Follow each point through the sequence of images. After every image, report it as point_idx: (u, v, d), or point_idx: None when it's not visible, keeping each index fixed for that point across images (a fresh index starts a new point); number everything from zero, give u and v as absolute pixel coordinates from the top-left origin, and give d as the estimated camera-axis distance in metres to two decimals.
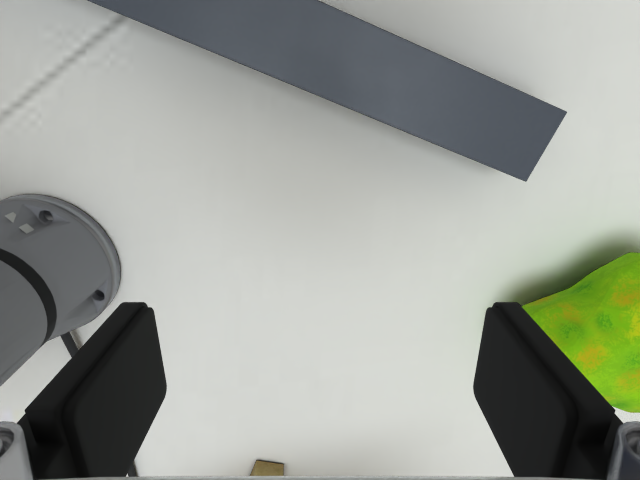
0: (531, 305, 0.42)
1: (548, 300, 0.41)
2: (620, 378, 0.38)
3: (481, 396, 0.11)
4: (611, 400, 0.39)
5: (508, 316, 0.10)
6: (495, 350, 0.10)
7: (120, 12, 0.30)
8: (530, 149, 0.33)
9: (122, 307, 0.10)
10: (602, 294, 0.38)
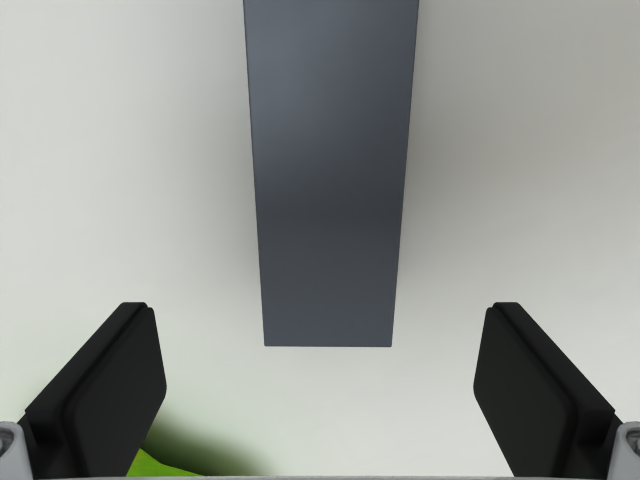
0: None
1: None
2: None
3: (481, 396, 0.11)
4: None
5: (508, 316, 0.10)
6: (495, 350, 0.10)
7: None
8: (315, 326, 0.19)
9: (122, 307, 0.10)
10: None
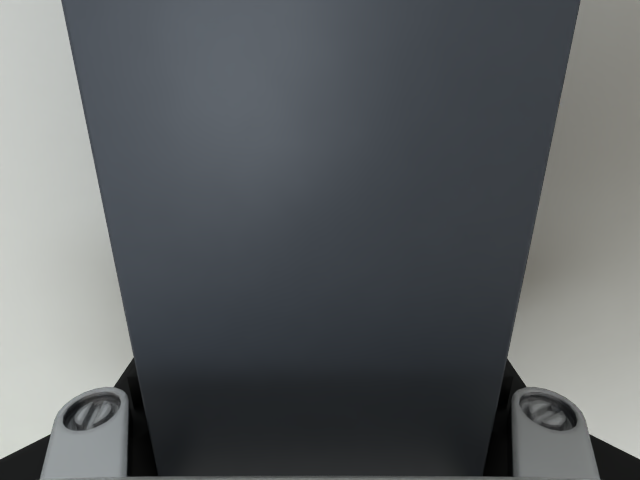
0: None
1: None
2: None
3: None
4: None
5: None
6: None
7: None
8: None
9: None
10: None
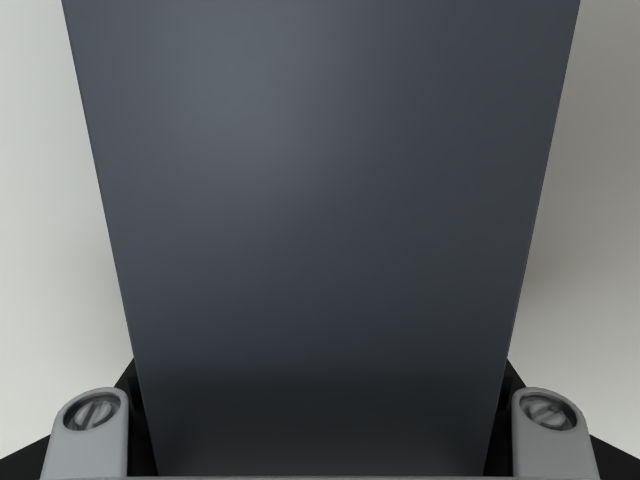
0: None
1: None
2: None
3: None
4: None
5: None
6: None
7: None
8: None
9: None
10: None
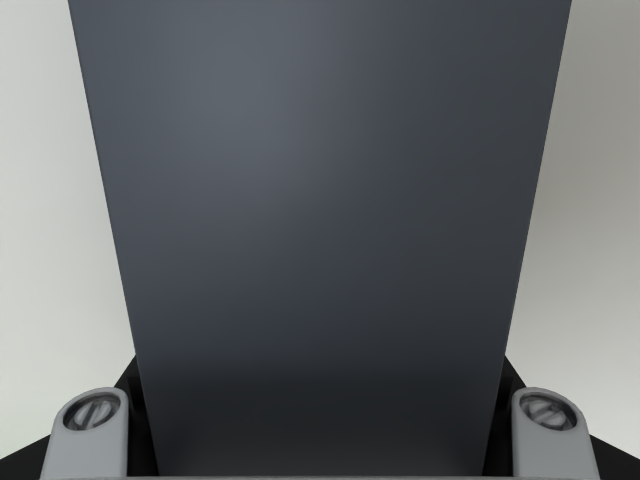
0: None
1: None
2: None
3: None
4: None
5: None
6: None
7: None
8: None
9: None
10: None
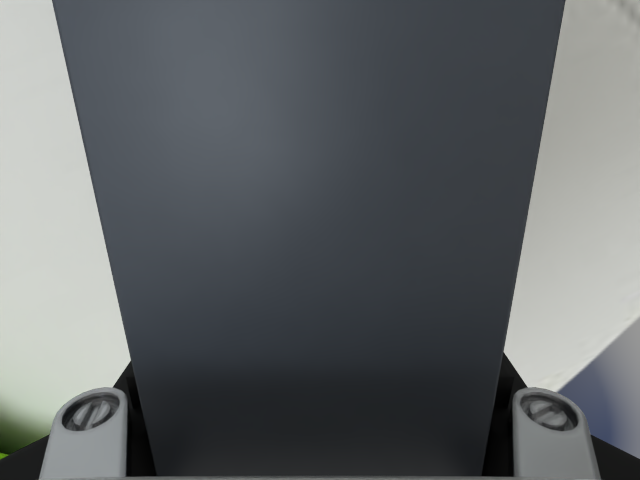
0: None
1: None
2: None
3: None
4: None
5: None
6: None
7: None
8: None
9: None
10: None
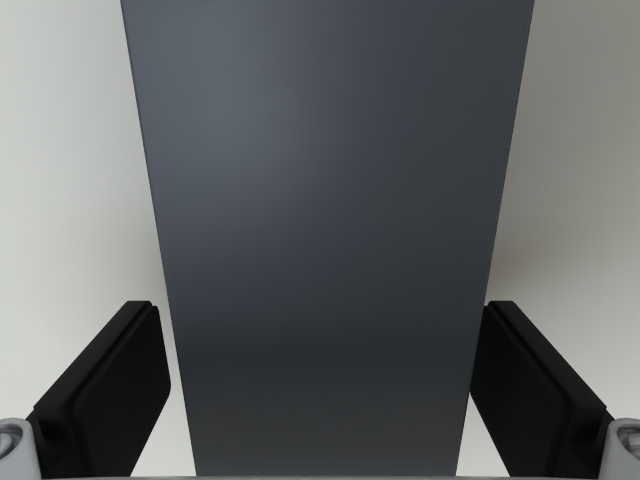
0: None
1: None
2: None
3: (476, 394, 0.11)
4: None
5: (503, 314, 0.10)
6: (490, 348, 0.10)
7: None
8: None
9: (127, 305, 0.10)
10: None
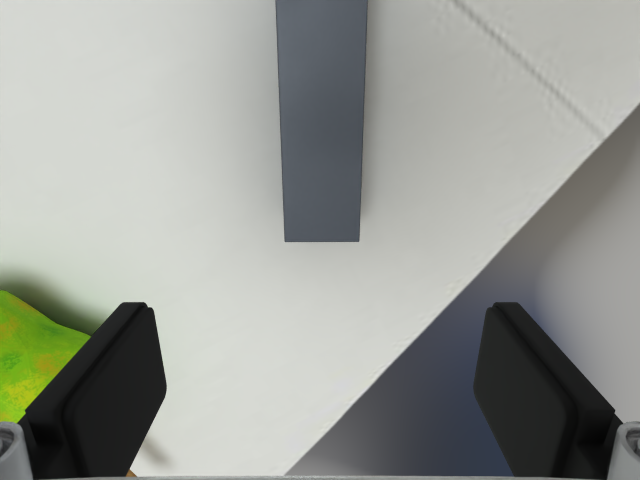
0: (8, 298, 0.38)
1: (21, 309, 0.38)
2: None
3: (481, 396, 0.11)
4: None
5: (508, 316, 0.10)
6: (495, 350, 0.10)
7: None
8: (314, 228, 0.33)
9: (122, 307, 0.10)
10: (44, 346, 0.36)
